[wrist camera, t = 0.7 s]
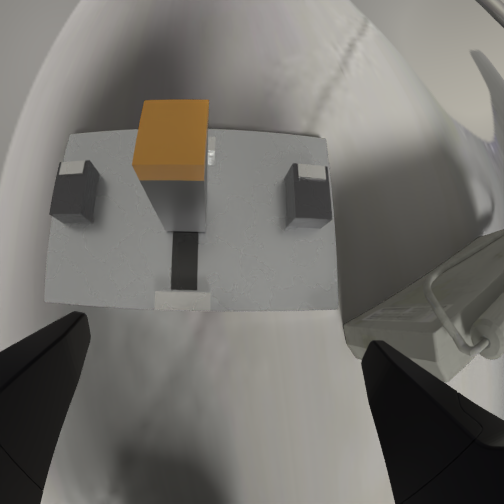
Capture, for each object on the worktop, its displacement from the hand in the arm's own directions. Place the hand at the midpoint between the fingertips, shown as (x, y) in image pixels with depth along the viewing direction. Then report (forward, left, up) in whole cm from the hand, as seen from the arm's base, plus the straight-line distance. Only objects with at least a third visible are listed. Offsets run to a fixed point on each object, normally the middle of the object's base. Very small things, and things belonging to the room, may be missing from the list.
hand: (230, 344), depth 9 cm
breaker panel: (+6, +6, -13) cm, 15 cm away
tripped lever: (+6, +6, -12) cm, 14 cm away
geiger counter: (+12, -17, -13) cm, 25 cm away
